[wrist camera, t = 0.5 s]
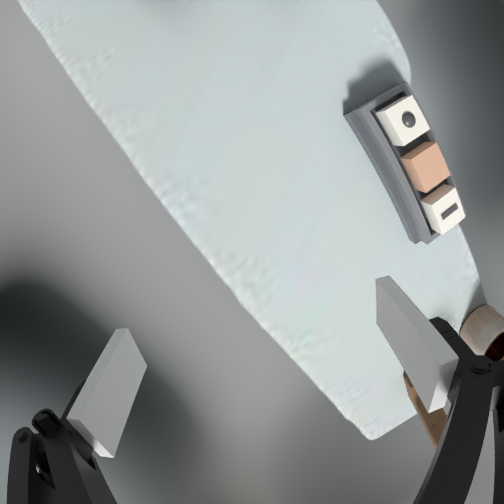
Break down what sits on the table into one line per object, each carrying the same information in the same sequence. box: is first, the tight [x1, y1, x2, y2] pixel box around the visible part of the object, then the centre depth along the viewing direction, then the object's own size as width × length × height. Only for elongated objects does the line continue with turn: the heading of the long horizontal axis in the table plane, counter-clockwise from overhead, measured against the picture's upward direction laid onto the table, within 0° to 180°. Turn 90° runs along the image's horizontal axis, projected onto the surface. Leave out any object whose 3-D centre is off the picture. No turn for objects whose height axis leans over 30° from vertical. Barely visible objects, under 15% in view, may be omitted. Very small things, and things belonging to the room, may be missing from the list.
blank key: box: [400, 142, 450, 193], centre depth 35 cm, size 5×5×3 cm
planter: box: [460, 305, 504, 361], centre depth 46 cm, size 11×11×10 cm
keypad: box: [343, 81, 466, 244], centre depth 38 cm, size 22×11×4 cm, turn 35°
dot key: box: [376, 95, 430, 146], centre depth 33 cm, size 5×5×3 cm
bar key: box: [421, 184, 465, 235], centre depth 37 cm, size 5×5×3 cm
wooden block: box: [403, 373, 447, 449], centre depth 47 cm, size 9×4×18 cm, turn 29°
